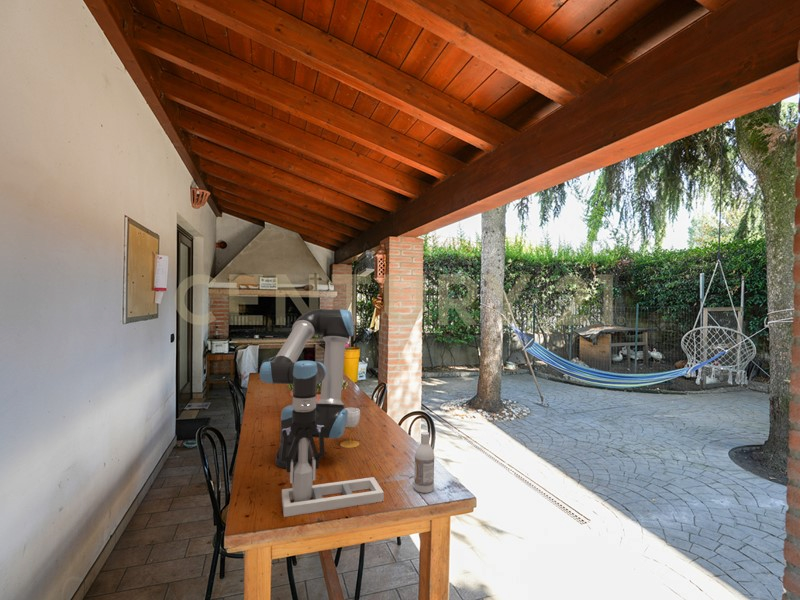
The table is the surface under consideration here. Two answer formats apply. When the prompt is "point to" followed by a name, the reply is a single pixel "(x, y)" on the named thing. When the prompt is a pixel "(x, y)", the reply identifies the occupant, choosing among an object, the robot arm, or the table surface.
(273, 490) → the table surface
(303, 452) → the low poly bottle
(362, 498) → the white rectangular compartment rack
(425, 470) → the bath foam
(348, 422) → the cup
